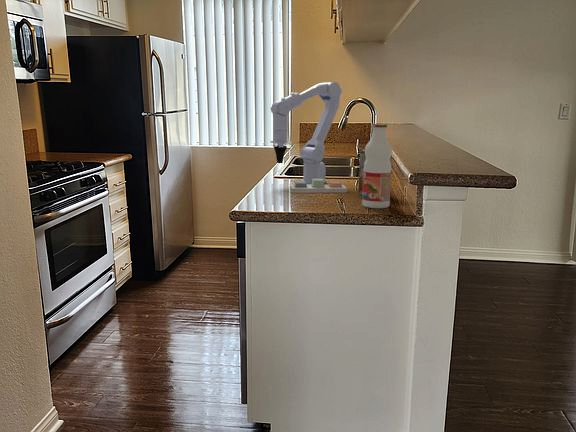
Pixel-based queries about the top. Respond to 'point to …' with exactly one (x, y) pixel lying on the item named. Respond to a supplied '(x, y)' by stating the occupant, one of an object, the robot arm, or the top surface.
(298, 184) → the key slate
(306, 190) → the keypad
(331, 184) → the key terracotta
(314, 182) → the key sage
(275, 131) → the robot arm
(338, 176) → the top surface
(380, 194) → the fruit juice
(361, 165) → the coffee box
